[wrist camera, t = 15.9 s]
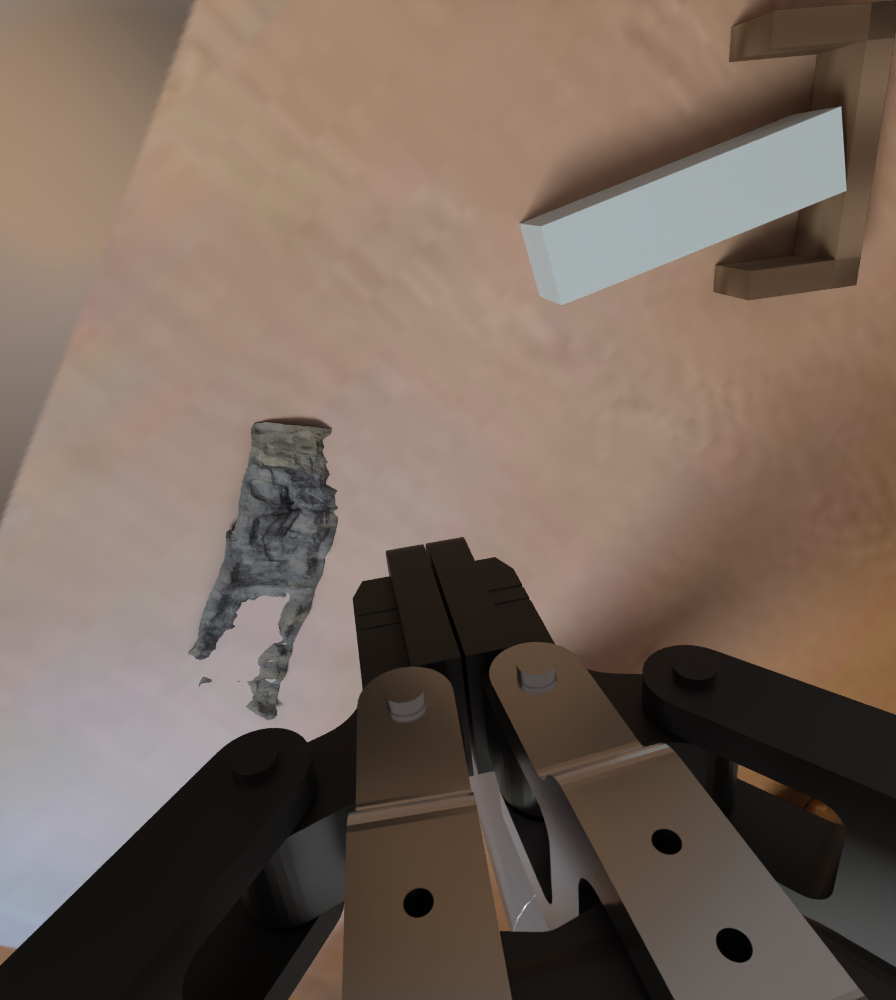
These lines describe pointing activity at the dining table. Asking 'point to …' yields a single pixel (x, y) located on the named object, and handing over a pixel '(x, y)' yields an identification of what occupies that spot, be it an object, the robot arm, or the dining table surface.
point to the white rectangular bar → (686, 205)
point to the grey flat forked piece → (274, 546)
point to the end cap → (861, 94)
